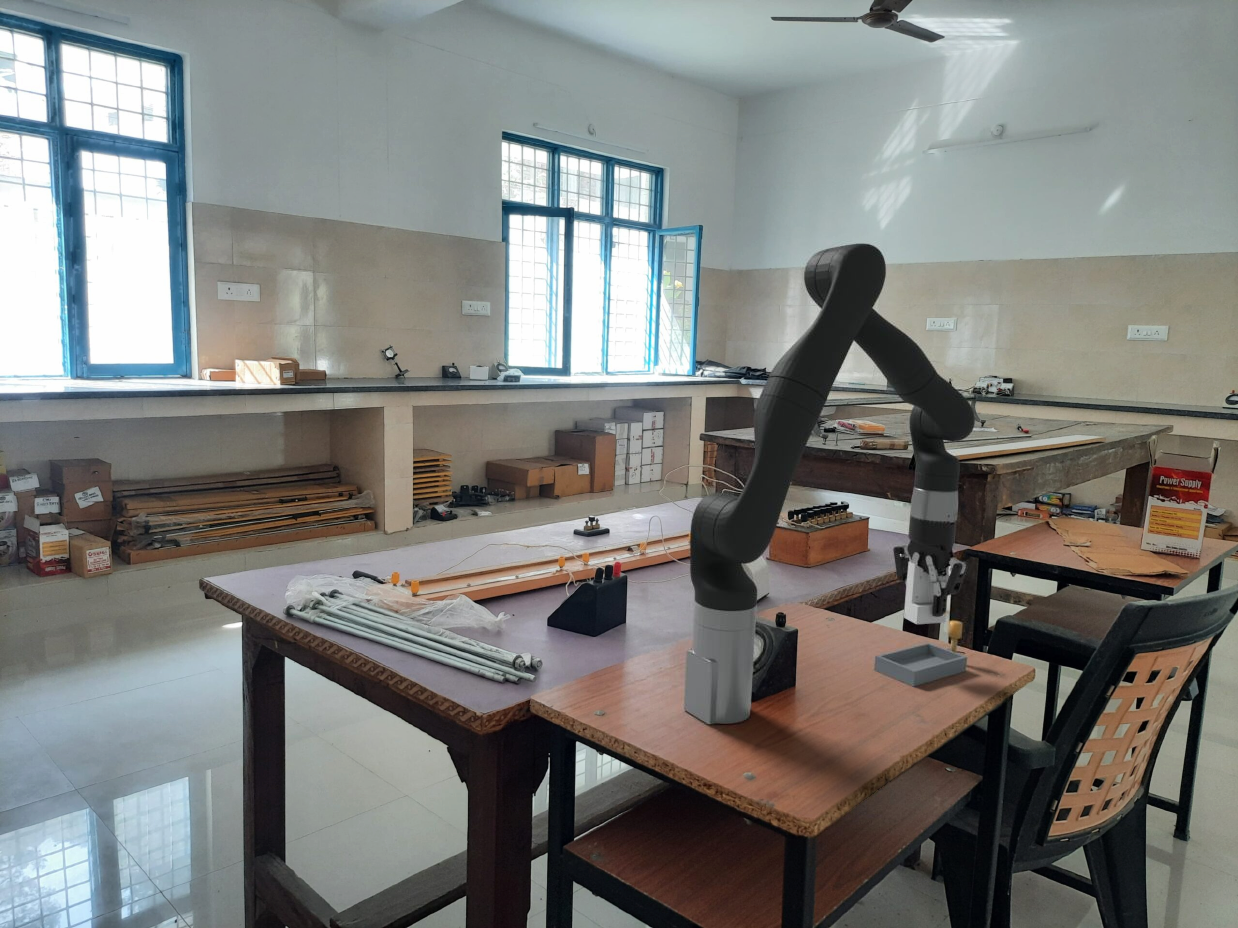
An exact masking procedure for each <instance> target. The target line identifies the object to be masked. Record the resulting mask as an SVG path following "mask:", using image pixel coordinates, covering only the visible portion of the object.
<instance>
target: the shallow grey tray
mask: <svg viewBox="0 0 1238 928" xmlns="http://www.w3.org/2000/svg"><path fill="white" fill-rule="evenodd" d="M962 634H963V622H961V621H959V620H949V623H948V633H947V635H948V637H949V638H951V642H950V649H946V648H944V647H941V646H938V645H936V644H933V643H930V642H924V643H921V644H916V645H913V646H909V647H904V648H900V649H897V650H892V651H889V652H885V653H881V654H877V655H875V656H874V665H873V666H874V669H873V670H874V671H876V672H878V673H880V674H882V675H885V676H887V677H890V678H892V679H894V680H897V681H898V682H901V683H903V684H906V685H909V686H911V687H916V686H920V685H923V684H927V683H930V682H934V681H937V680H941V679H944V678H947V677H950V676H954V675H957V674H961V673H965V672H966V671H967V663H968V656H966V655H963V654H960V653H958V652H957V649H958V647H957V646H958V639H962Z"/></svg>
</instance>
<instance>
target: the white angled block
mask: <svg viewBox="0 0 1238 928" xmlns="http://www.w3.org/2000/svg"><path fill="white" fill-rule="evenodd" d="M911 562H912V561H910V562H909V563H908V574H907V586H906V585H905V586H906V587H905V598H904V599H905V600H904V611H903V618H904V619H906V620H908V621H909V622H911V623H914V624H915V625H925V624H927V625H928V624H929V625H930V624H940V623H941V624H942V623H946V620H947V609H948V605H947V606H946V612H945V613H944V614H943V615H942V616H939V617H935V616H933V615H932V609H933V598H934V595H936V594H935V590H934V585H933V583H932V582H931V579H930V575H929V574H927V573H926V572H923V569H922V568H920V567H919V566H917V565H916V564H914V563H911Z"/></svg>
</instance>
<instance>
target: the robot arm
mask: <svg viewBox="0 0 1238 928" xmlns="http://www.w3.org/2000/svg"><path fill="white" fill-rule="evenodd" d="M886 273H887V265H886V260H885V256H884V255H883V253H882V251H881V250H880V249H879V248H878V247H876V246H875V245H873V244H871V243H851V244H845V245H839V246H836V247H835V246H834V247H829V248H826V249H823V250H820V251H817V252H816V253H814V254H813V255H812V256H811V257H810V258H809V259H808V261H807V263H806V264H805V269H804V274H803V280H804V281H803V282H804V286H805V288H806V291H807V294H808V296H810V298H811V299H812V301H813V302H814V303H815V304H816V305H817V306H818V307H819V308H820V311H819V313H818V315H817V316H816V318H815V320H813V322H812V324H811V325H810V326H809V328H808V329H807V330H806V331H805V332H804V334H803V335H801V336H800V338H798V340H797V341H796V342H795V343H794V344H793V345H791V346H790V348H789V349H788V350H787V351H786V352H785V353H784V355H782V356H781V358H780V359H779V360H778V361H777V362H776V364H775V365H774V367H773V368H772V369H771V371H770V374H769V376H768V377H767V380H766V382H765V384H764V385H763V388H762V391H761V394H760V395H759V397H758V399H757V400H758V401H757V402H756V405H755V410H754V415H753V431H754V434H753V435H754V459H753V464H752V468H751V471H750V473H749V475H748V478H747V480H746V483H745V485H744V487H743V488H742V491H741V493H740V494H739V496H737V495H734V494H730V493H726V492H713V493H708V495H705V496H704V497H703V498H702V499H701V500H700V501H699V502H698V503H697V505H696V507H695V509H694V511H693V514H692V517H691V524H690V533H689V535H690V537H689V539H690V540H689V543H690V544H689V557H690V558H689V560H690V562H689V571H690V572H689V573H690V580H691V583H692V586H693V589H694V605H693V606H694V607H693V608H694V609H693V621H692V622H693V624H692V641H691V642H692V643H691V644H692V645H691V647H692V648H690V649H687V650H686V657H685V658H686V659H685V677H684V681H685V682H684V698H683V699H684V700H683V702H684V703H683V710H684V711H685V712H688V713H689V714H691V715H693V716H694V717H695V718H697V719H699V720H700V721H702V722H704V723H705V724H707V725H714V724H724V725H725V724H726V725H727V724H728V725H729V724H737V723H741V722H743V721H745V720H747V719H748V718H749V717H750V715H751V702H752V691H753V690H752V689H753V688H752V686H753V675H754V674H753V673H754V671H753V670H754V654H755V637H756V621H757V607H758V606H757V605H758V603H757V602H758V588H757V585H756V584H755V582H754V581H753V580H752V579H751V577H750V576H749V575H748V574H747V572H746V571H745V569H744V567H743V565H745V564H750V563H753V562H755V561H757V560H758V559H759V558H761V556H762V555H763V554H764V553H765V551H766V550H767V548H768V547H769V545H770V543H771V541H772V539H773V537H774V534H775V531H776V528H777V525H778V522H779V519H780V516H781V513H782V510H783V507H784V504H785V501H786V499H787V495H788V492H789V488H790V486H791V483H792V480H793V478H794V475H795V472H796V470H797V467H798V466H799V463H800V461H801V458H802V456H803V453H804V451H805V448H806V447H807V444H808V442H809V439H810V437H811V435H812V433H813V432H814V431H813V430H814V429H815V427H816V425H817V423H818V421H819V419H820V416H821V414H822V411H823V409H824V407H825V405H826V403H827V401H828V398H829V396H830V392H831V390H832V388H833V385H834V383H835V381H836V378H837V377H838V375H839V373H840V370H841V369H842V366H843V364H844V363H845V360H846V358H847V355H848V353H849V351H850V349H851V347H852V345H853V343H854V342H855V343H856V344H857V345H858V346H859V348H860V349H861V350H862V351H864V353H865V354H866V355H867V356H868V357H869V358H870V359H871V361H872V362H873V363H874V364H875V366H876V367H877V368H878V369H879V371H880V372H881V373H882V375H883V377H884V378H885V379H886V381H887V382H888V383H889V385H890V386H891V387H892V389H893V391H895V394H897V396H898V397H899V398H900V399H901V400H902V401H903V402H904V403H907V404H909V405H912V406H913V407H912V409H911V411H910V416H909V423H908V424H909V433H910V439H911V444H912V450H913V451H912V452H913V455H914V460H915V473H914V483H913V484H914V485H913V490H912V496H911V501H910V510H909V511H910V513H909V523H908V525H909V526H908V527H909V528H908V536H907V537H908V540H909V543H908V545H900V546H894V547H893V556H894V564H895V570H896V571H895V572H896V578H897V580H898V581H900V582H902V583H904V584H905V586H907V574H908V563H909V562H911V563H914V564H916V565H917V566H919V567H920V568H922V569H923V572H926V573H927V574H929V575H930V579H931V582H932V583H933V585H934V590H935V594H936V595H934V598H933V609H932V615H933V616H935V617H939V616H942V615H943V614H944V613H945V612H946V613H947V610H946V606H947V607H948V604H947V603H948V596H951V595H955V594H959V593H960V590H961V587H962V585H963V583H964V580H965V577H966V574H967V572H968V570H969V566H970V565H969V563H968V562H967V561H961V560H959V559H958V558H956V557H955V555H954V554H955V553H954V551H953V548H954V545H955V542H956V534H957V533H956V532H957V521H958V511H959V494H958V493H959V492H958V490H959V483H960V482H959V481H960V471H961V468H960V467H961V463H960V460H959V458H958V457H956V456H955V455H953V454H951V453H949V452H948V451H947V450H946V446H945V442H944V441H947V442H958V441H963V440H965V439H966V438H968V437H969V436H970V435H971V433H973V432H972V431H973V430H974V427H975V423H976V418H975V413H974V412H975V411H974V410H973V407H972V405H971V403H970V402H969V401H968V399H967V398H966V397H965V396H964V394H962V393H961V392H960V391H959V390H958V389H956V388H955V387H954V386H953V385H952V384H951V383H950V382H949V381H947V380H946V379H945V378H943V377H942V376H941V375H940V374H939V373H938V372H937V370H936V369H935V367H934V365H933V364H932V363H931V360H930V359H929V358H928V356H927V355H926V353H925V352H924V351H923V350H922V348H921V347H920V346H919V345H918V343H916V342H915V341H914V340H913V339H912V338H911V337H909V336H908V335H907V334H906V333H905V332H903V331H902V330H900V329H899V328H898V327H897V326H896V325H894V324H893V323H891V322H890V321H888V320H887V319H886V318H884V317H883V316H882V315H881V314H879V312H878V311H876V310H875V309H874V306H875V304H876V303H877V301H878V299H879V297H880V295H881V293H882V290H883V288H884V285H885V280H886V277H887V276H886ZM910 560H911V561H910ZM949 566H950V567H949ZM948 567H949V568H948ZM949 571H950V573H949Z"/></svg>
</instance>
